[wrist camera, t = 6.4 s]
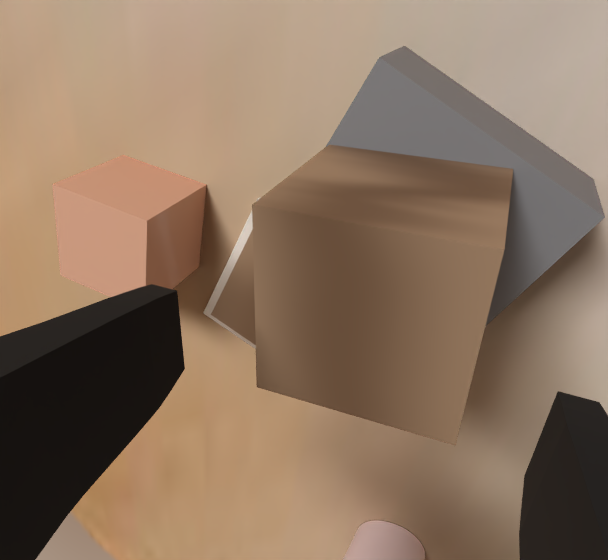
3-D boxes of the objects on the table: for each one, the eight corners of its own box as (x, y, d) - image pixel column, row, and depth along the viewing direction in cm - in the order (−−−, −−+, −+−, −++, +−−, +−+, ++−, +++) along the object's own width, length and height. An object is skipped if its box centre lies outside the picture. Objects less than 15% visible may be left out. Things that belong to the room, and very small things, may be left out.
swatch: (406, 293, 20) (404, 299, 19) (326, 393, 24) (323, 399, 23) (259, 196, 20) (255, 200, 20) (205, 311, 24) (200, 315, 24)
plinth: (592, 175, 16) (604, 216, 13) (449, 317, 20) (435, 372, 17) (406, 44, 16) (379, 57, 13) (302, 211, 20) (264, 249, 17)
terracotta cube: (207, 184, 21) (146, 220, 18) (199, 266, 23) (144, 311, 20) (124, 154, 22) (52, 184, 18) (124, 236, 24) (60, 275, 21)
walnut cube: (513, 168, 13) (504, 249, 9) (475, 327, 16) (455, 445, 12) (329, 144, 15) (251, 204, 11) (321, 293, 17) (256, 387, 13)
